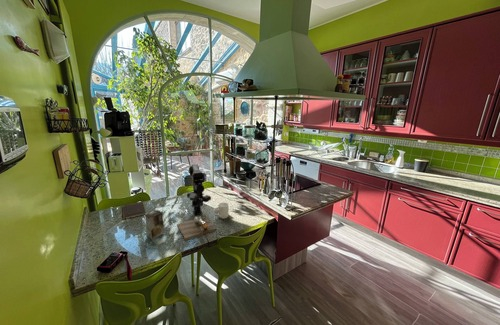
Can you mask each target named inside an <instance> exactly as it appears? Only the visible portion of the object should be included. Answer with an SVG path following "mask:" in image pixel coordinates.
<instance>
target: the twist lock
mask: <svg viewBox="0 0 500 325" xmlns="http://www.w3.org/2000/svg"><path fill="white" fill-rule="evenodd" d="M201 217H202V216H201V215H195V216H194V217H193V218H194V219H193V220H195V224H199V225H200V226H201V227H202V228H203V229H204V230H207V223H205V222H204V221H202V220H201Z"/></svg>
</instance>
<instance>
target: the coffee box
mask: <svg viewBox="0 0 500 325" xmlns="http://www.w3.org/2000/svg"><path fill="white" fill-rule="evenodd" d="M144 217H145V223H146V224H145V225H146V231H147V237H149V238H150V239H151V240H153V239H156V238H158V237H160V236H162V235H163V234H165V226H164V217H163V212H161V211H160V210H159V209H158V210H155V211H151V212H149V213H145V215H144Z"/></svg>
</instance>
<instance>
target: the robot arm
mask: <svg viewBox="0 0 500 325" xmlns="http://www.w3.org/2000/svg"><path fill="white" fill-rule="evenodd" d="M188 173H189V177H191V180H192V191H190V192H188V193H187V194H186V196H187V198H188V199H189V201H191V208H193V210H192V213H193V214H194V215H195V216H197V215H200V214H203V211H202V208H201V207H203V206H204V203H208V202H209V201H211V200H212V196H210V195H209V194H208V195H207V194H206V195H205V194H204V193H203V192H204V191H205V186H204V184H203V183H205V181H206V180H205V179H206V178H205V174H204V173H203V171H202V170H200V167H199V165H198V164H196V163H195V164H190V166H189V167H188Z"/></svg>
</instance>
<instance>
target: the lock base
mask: <svg viewBox="0 0 500 325" xmlns="http://www.w3.org/2000/svg"><path fill="white" fill-rule="evenodd" d="M201 220H202V221H204V222H205V223H207V230H204V229H203V228H202V227H201V226H200V225H199V224H195V220H194V219H191V220H187V221H185V222H184V221H183V222H180V223H178V224H176V226H177V229H178V230H179V232H180V233H181V235H182V237H183V239H184V241H187V240H190V239H192V238H195V237H199V236H201V235H205V234H208V233H210V232H214V231H216V227H215V225H213V223H212V222H211V221H210V220H209V219H208V217H206V216H201Z"/></svg>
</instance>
